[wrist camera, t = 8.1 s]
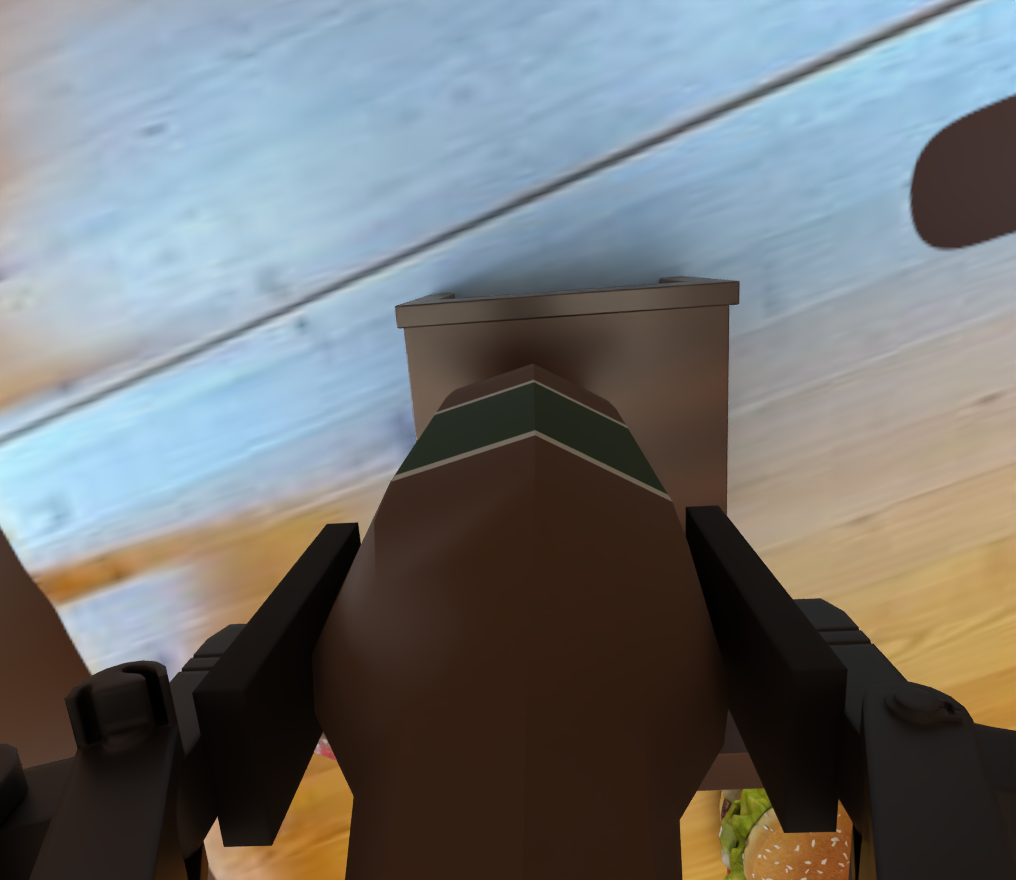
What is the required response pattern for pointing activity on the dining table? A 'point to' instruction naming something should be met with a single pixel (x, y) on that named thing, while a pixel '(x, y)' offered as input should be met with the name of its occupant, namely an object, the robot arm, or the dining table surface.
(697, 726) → the beer bottle
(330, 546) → the robot arm
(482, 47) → the dining table surface
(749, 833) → the food
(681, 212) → the dining table surface
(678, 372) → the shelf stand
